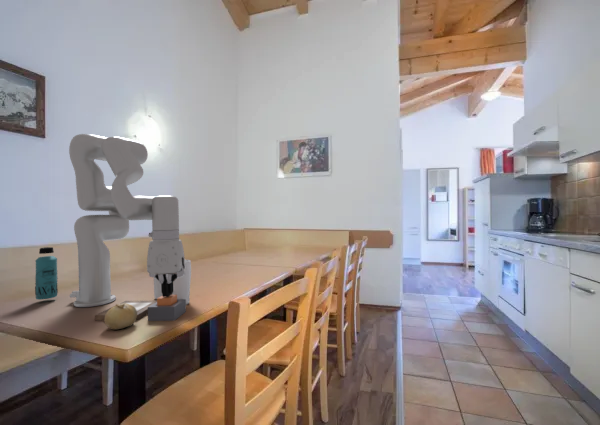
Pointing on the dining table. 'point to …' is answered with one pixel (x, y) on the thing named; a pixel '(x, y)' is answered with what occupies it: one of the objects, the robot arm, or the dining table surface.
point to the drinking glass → (183, 283)
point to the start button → (166, 300)
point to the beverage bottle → (46, 275)
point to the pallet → (139, 305)
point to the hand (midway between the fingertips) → (167, 295)
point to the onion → (120, 316)
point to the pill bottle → (157, 288)
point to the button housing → (167, 311)
